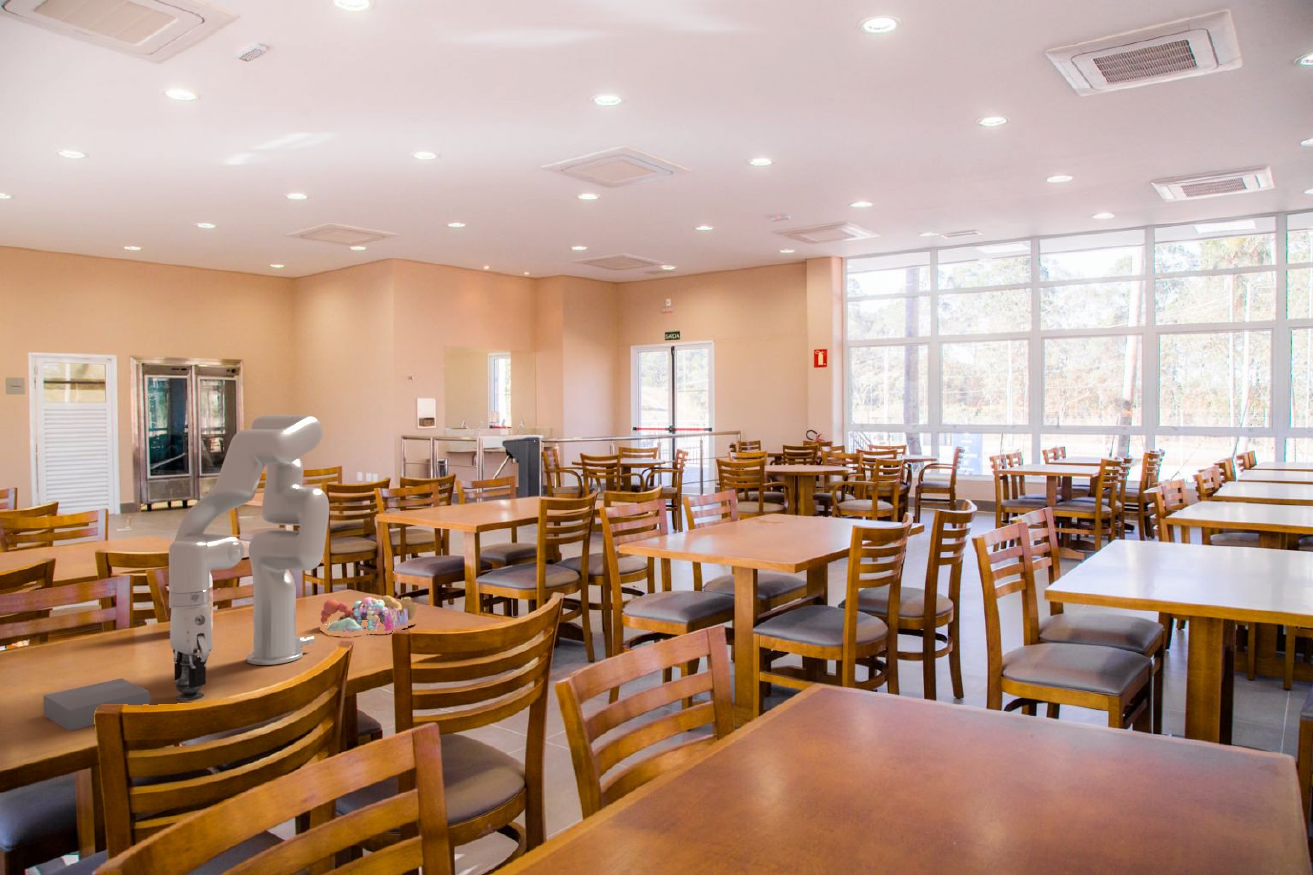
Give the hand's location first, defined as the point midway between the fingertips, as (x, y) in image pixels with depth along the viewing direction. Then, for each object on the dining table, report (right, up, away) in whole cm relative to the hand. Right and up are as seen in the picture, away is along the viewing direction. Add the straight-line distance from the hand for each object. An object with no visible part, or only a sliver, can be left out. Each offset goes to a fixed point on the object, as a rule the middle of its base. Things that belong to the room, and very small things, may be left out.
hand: (190, 682), depth 179 cm
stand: (-13, -3, -10) cm, 17 cm away
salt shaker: (0, -3, 0) cm, 3 cm away
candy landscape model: (+17, -3, +61) cm, 64 cm away
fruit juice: (-30, -2, +56) cm, 64 cm away
